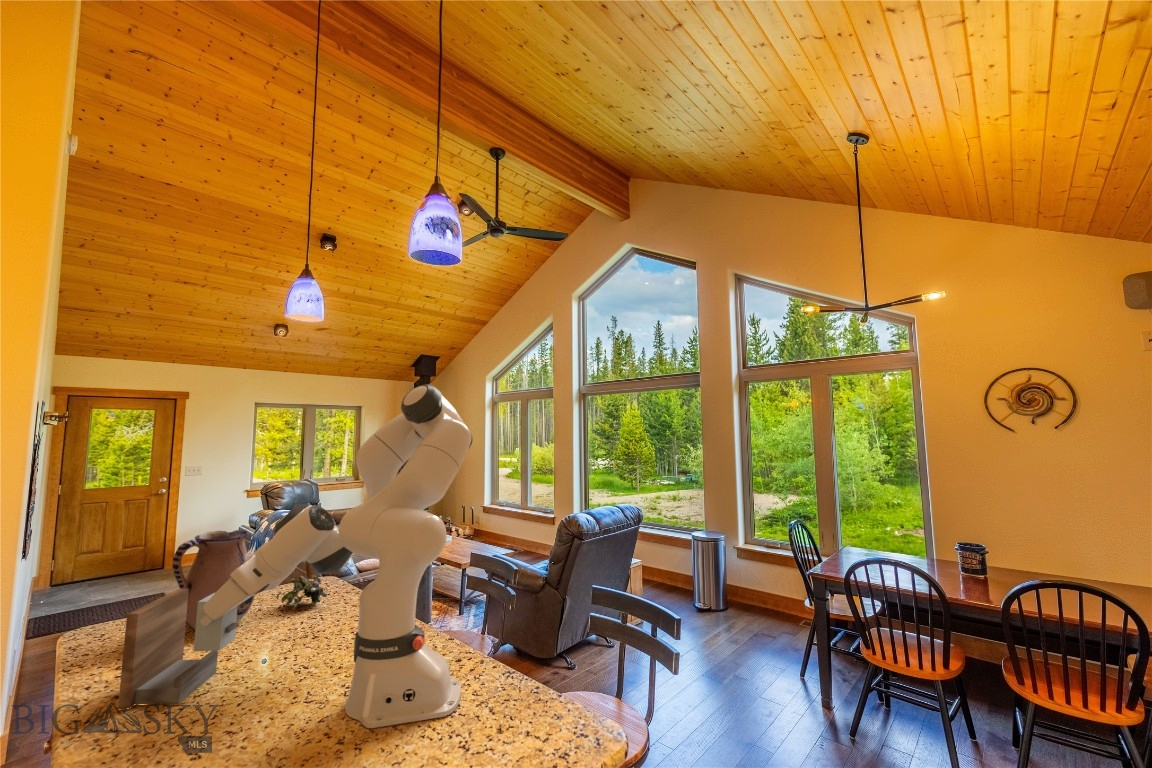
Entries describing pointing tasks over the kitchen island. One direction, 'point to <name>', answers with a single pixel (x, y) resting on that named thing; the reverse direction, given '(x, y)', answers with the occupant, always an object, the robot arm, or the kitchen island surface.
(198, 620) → the grey box with notch
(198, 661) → the wall board
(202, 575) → the ceramic pitcher
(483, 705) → the kitchen island surface
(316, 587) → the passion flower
